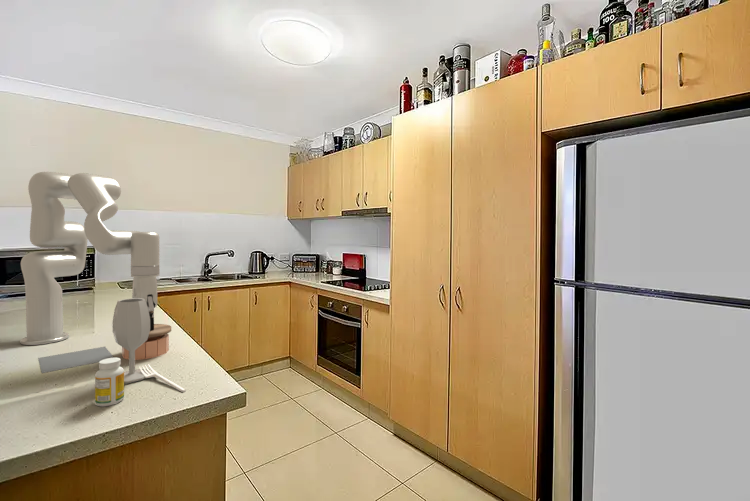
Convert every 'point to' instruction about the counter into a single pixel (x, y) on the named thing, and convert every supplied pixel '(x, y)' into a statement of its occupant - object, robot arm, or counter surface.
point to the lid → (159, 330)
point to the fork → (159, 377)
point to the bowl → (150, 348)
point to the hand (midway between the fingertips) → (145, 328)
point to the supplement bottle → (109, 382)
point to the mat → (73, 359)
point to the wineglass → (131, 331)
